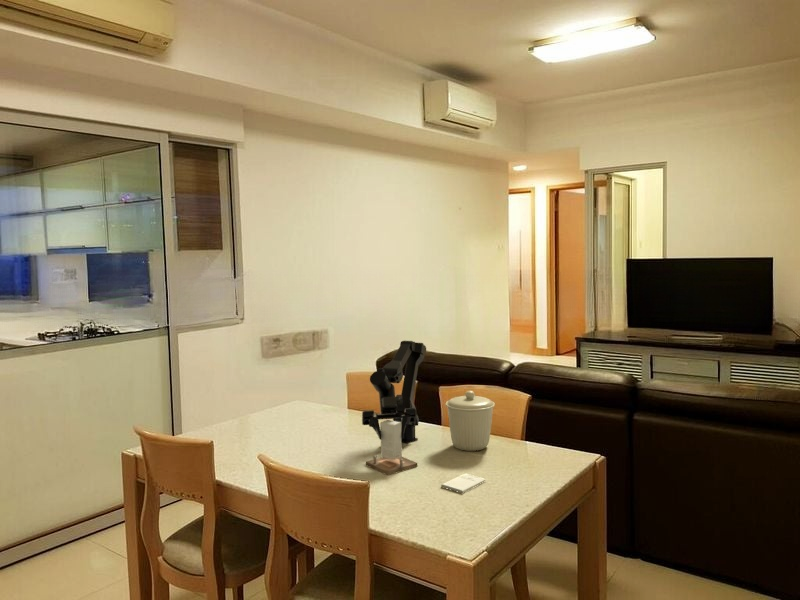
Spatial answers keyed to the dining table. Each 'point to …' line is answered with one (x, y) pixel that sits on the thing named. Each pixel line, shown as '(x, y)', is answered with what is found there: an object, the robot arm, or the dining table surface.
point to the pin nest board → (390, 464)
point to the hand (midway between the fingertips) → (391, 438)
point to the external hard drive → (463, 483)
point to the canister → (470, 421)
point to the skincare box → (391, 439)
